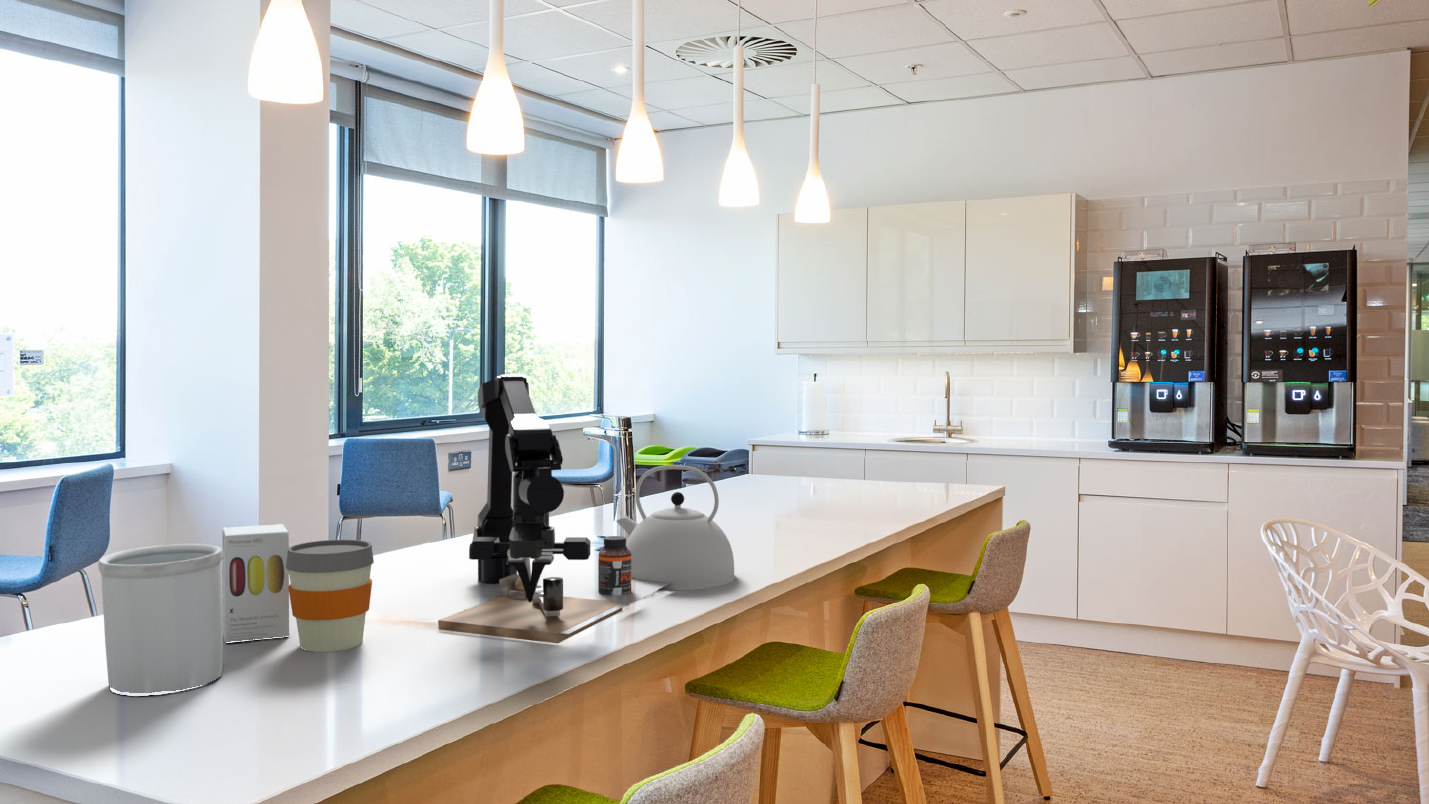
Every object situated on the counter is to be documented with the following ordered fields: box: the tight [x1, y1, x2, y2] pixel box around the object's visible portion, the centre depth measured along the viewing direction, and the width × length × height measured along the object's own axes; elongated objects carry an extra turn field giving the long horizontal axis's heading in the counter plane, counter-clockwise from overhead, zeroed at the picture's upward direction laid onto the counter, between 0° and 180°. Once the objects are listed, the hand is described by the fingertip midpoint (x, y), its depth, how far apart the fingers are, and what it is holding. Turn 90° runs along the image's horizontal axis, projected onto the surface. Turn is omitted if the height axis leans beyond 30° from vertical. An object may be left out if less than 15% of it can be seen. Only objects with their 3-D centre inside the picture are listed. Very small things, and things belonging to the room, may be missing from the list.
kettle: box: [615, 464, 736, 591], centre depth 209 cm, size 25×23×23 cm
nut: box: [515, 577, 525, 592], centre depth 186 cm, size 4×4×4 cm
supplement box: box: [221, 523, 290, 643], centre depth 165 cm, size 10×9×17 cm
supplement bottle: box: [597, 535, 632, 596], centre depth 189 cm, size 6×6×11 cm
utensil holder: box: [97, 543, 224, 693], centre depth 142 cm, size 15×15×18 cm
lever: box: [532, 576, 564, 617], centre depth 176 cm, size 18×4×6 cm, turn 17°
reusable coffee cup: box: [286, 539, 375, 653], centre depth 160 cm, size 13×13×15 cm
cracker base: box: [437, 573, 623, 644], centre depth 176 cm, size 22×24×4 cm
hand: (530, 601), depth 168 cm, fingers closed
